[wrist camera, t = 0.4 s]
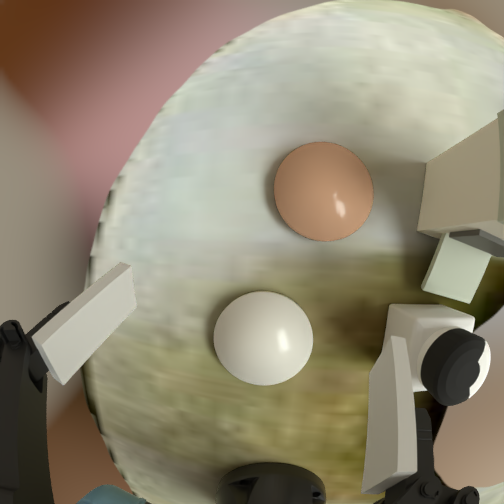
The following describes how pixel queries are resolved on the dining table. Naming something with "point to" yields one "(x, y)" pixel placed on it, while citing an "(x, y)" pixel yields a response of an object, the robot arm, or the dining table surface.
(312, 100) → the dining table surface
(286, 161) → the peach round disc
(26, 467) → the robot arm
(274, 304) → the white domed round part
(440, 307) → the medicine bottle
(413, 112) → the dining table surface
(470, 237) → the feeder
